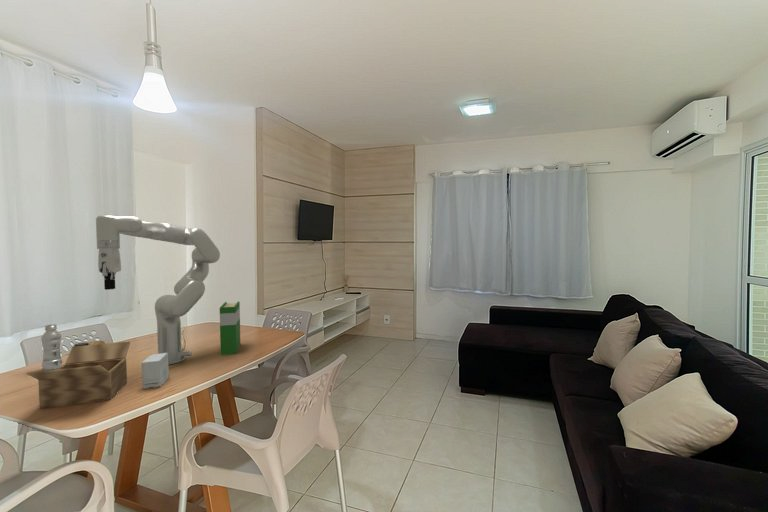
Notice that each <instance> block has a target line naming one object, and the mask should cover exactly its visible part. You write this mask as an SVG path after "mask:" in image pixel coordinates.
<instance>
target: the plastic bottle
mask: <svg viewBox="0 0 768 512" xmlns="http://www.w3.org/2000/svg"><path fill="white" fill-rule="evenodd" d="M44 331H45V332H44V333H43V335H42V336H41V339H40V341H41V344H42V345H41V346H42V351H43V355H42V362H41V369H42V371H48V370H56V369H57V368H59V367H60V366H62V365H63V359H62V357H61V341H62V334H61V333H60V331H58V328H57V324H47V325H45V326H44Z"/></svg>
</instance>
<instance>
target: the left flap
mask: <svg viewBox="0 0 768 512" xmlns="http://www.w3.org/2000/svg"><path fill="white" fill-rule="evenodd" d="M108 372H109V371H108V370H106V369H105V368H104V367H102V366H101V365H96V366H86V367H76V368H67V369H57V370H56V369H55V370H48V371H45V370H40V371H39V370H37V371H29V372H26V375H28V376H29V377H32V378H33V379H36V380H47V379H56V378H65V377H74V376H83V375H92V374H101V373H108Z"/></svg>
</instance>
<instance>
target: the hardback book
mask: <svg viewBox="0 0 768 512" xmlns="http://www.w3.org/2000/svg"><path fill="white" fill-rule="evenodd" d="M240 306H241V303H240V301H237V302H232V303H231V302H229V303H228V302H227V301H226V302H223V304H222V305H221V306H220V307H219V338H220V339H219V340H220V341H219V343H220V346H219V347H220V356H227V355H237V354H238V352H239V350H240V346H241V312H240V311H241V310H240V309H241V308H240Z"/></svg>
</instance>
